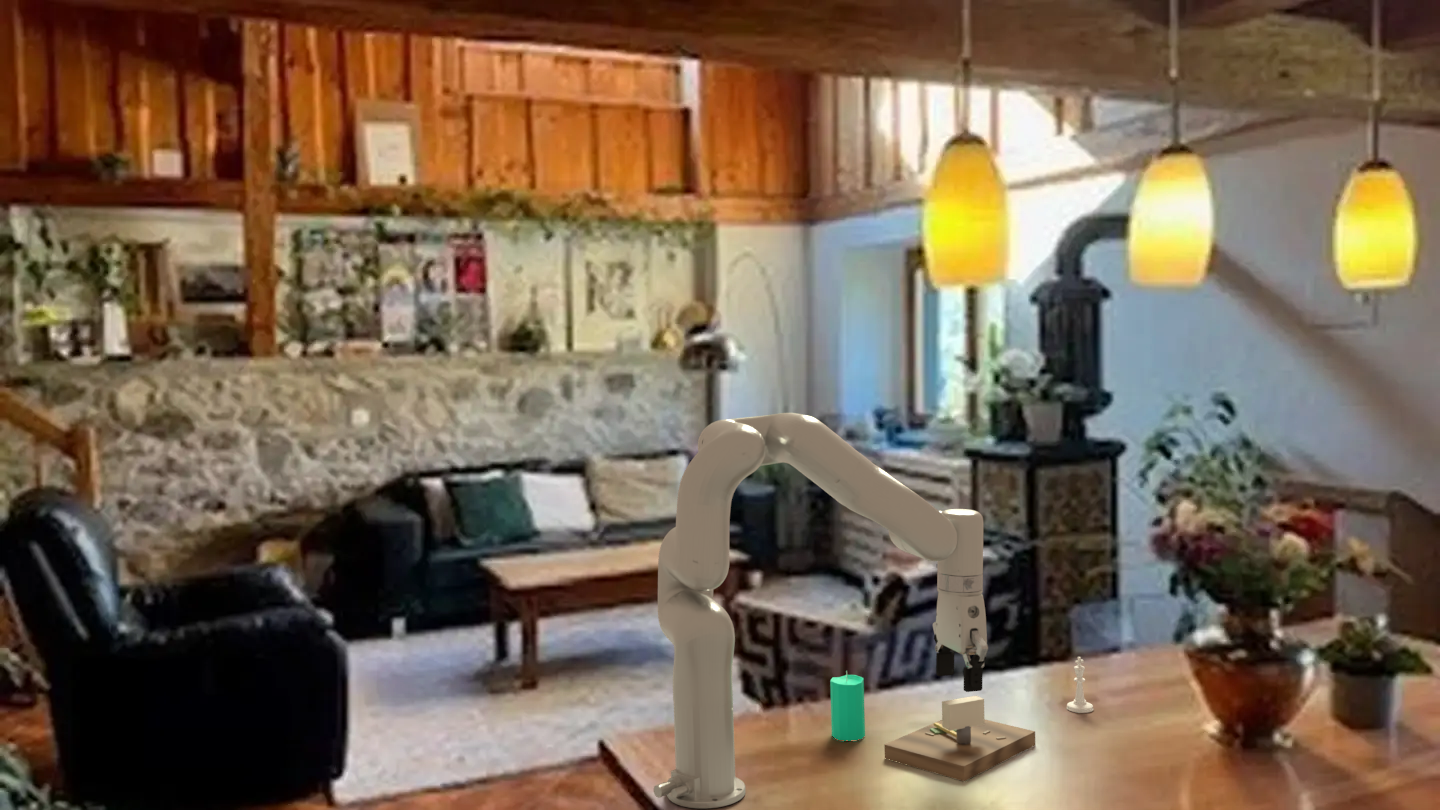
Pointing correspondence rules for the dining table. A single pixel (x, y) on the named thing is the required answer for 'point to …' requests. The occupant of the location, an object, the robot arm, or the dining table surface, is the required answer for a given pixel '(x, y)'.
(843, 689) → the candle
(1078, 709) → the chess piece
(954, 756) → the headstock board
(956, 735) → the wooden toy mallet
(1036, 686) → the dining table surface
